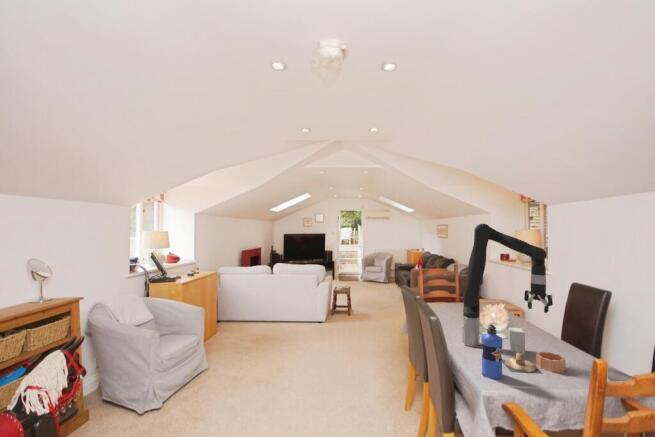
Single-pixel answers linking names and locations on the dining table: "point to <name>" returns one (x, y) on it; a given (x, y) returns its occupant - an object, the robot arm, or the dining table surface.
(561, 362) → the bowl
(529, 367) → the lid
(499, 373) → the water bottle
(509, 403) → the dining table surface
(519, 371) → the mat
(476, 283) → the robot arm
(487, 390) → the dining table surface
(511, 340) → the supplement box
